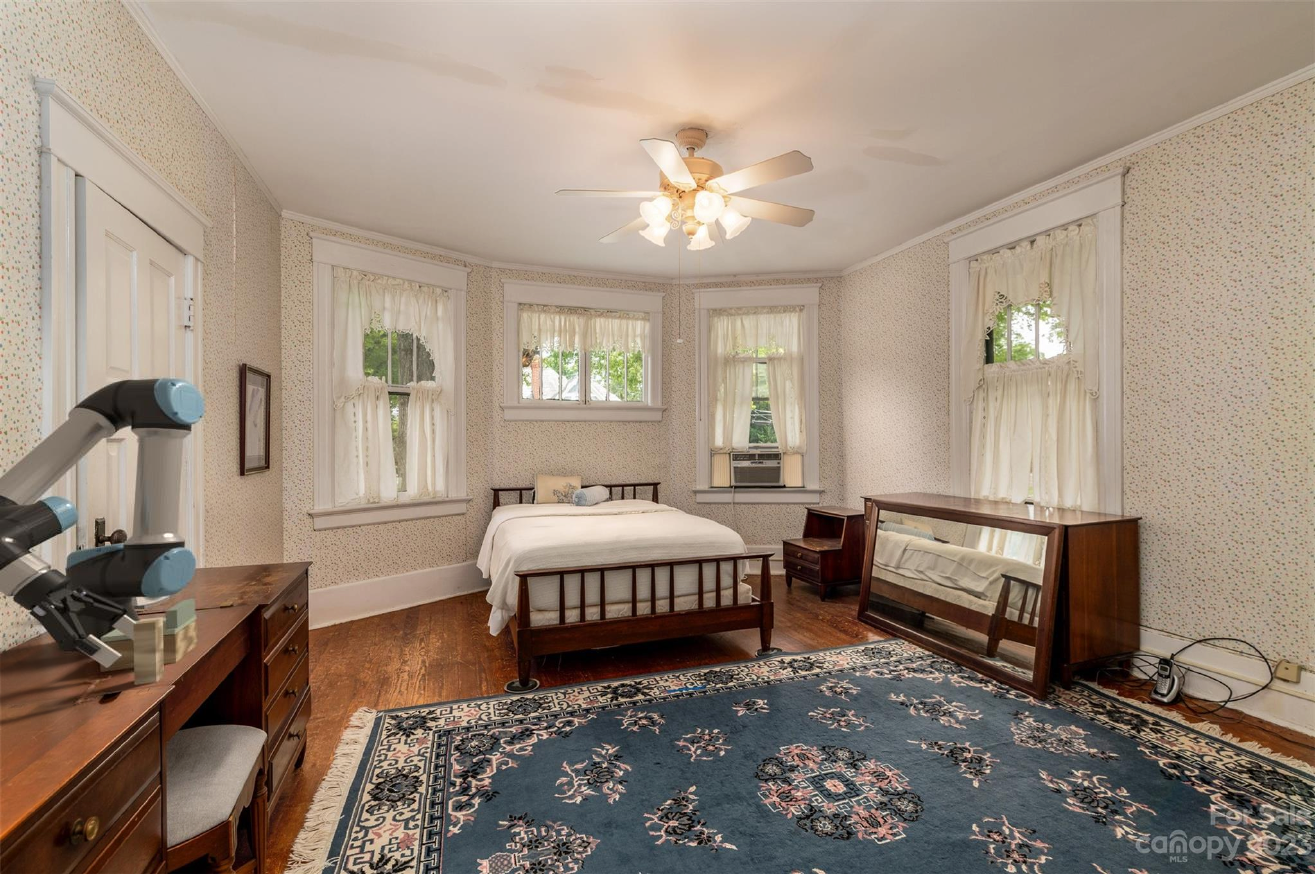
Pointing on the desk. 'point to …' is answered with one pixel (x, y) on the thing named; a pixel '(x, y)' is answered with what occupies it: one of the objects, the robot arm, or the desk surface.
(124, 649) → the light wooden box
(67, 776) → the desk surface
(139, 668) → the block
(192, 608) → the lid
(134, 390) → the robot arm
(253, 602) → the desk surface
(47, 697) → the desk surface
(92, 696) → the key
